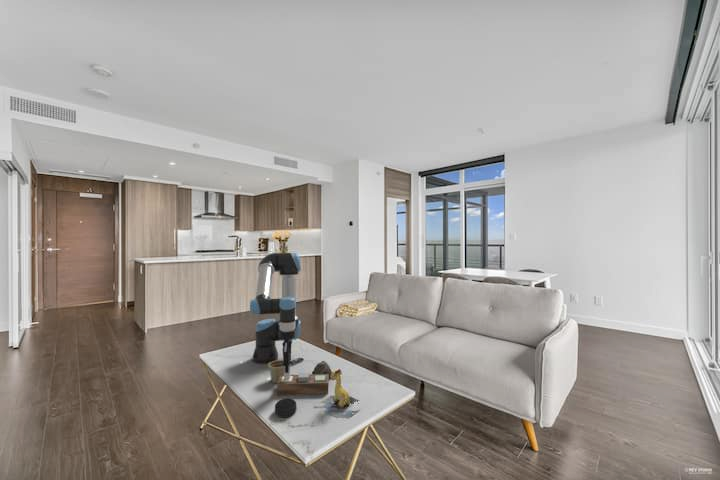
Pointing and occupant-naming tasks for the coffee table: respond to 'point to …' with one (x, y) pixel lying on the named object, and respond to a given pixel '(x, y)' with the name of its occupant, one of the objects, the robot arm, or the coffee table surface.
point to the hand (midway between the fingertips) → (287, 378)
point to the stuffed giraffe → (338, 399)
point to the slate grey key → (303, 377)
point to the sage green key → (320, 378)
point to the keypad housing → (303, 386)
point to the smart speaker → (285, 407)
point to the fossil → (322, 369)
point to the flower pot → (276, 370)
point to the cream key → (287, 379)
